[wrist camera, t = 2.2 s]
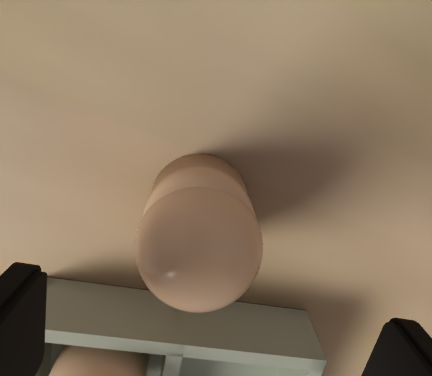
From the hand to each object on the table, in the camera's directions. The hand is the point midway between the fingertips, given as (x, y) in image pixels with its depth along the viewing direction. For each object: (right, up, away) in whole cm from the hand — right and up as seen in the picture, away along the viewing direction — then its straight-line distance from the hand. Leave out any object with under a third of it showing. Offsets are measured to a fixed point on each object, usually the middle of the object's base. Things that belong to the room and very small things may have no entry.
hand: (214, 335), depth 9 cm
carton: (-4, -11, +12) cm, 16 cm away
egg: (-1, +3, +6) cm, 7 cm away
